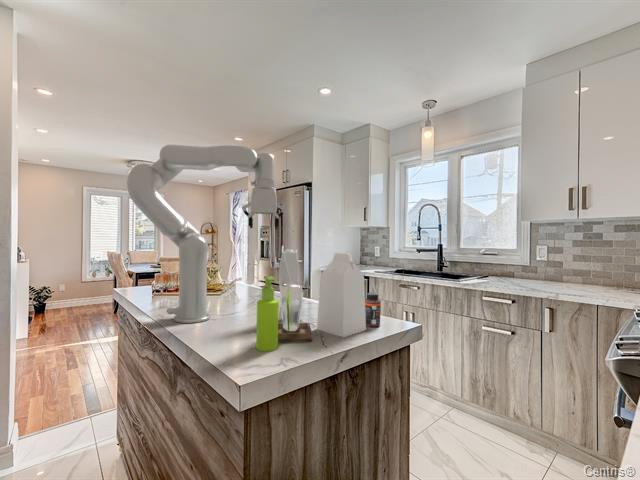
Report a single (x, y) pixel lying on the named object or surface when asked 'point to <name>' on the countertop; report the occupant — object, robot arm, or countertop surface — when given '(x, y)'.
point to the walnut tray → (296, 334)
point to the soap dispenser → (267, 318)
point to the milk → (341, 297)
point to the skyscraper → (288, 271)
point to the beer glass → (291, 307)
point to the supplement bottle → (372, 310)
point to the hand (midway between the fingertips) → (263, 228)
